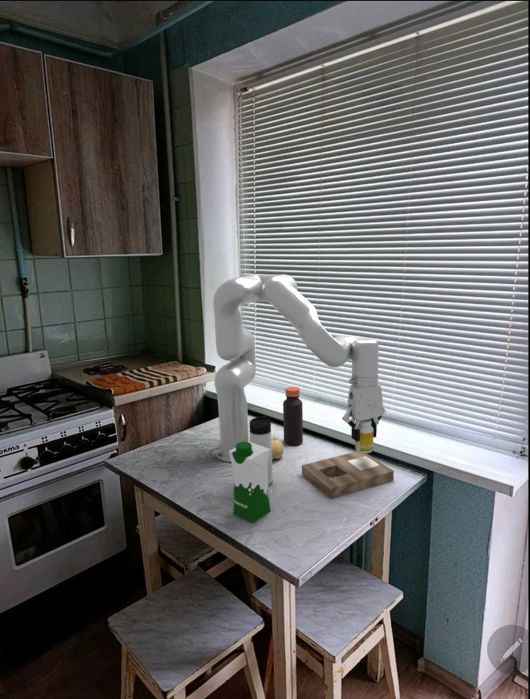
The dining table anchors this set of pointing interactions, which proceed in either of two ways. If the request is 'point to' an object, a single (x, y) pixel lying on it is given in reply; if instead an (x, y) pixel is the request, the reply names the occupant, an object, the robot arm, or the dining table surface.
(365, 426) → the supplement bottle
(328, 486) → the socket board
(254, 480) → the milk carton
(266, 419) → the travel mug
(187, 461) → the dining table surface
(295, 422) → the vinegar
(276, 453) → the onion
